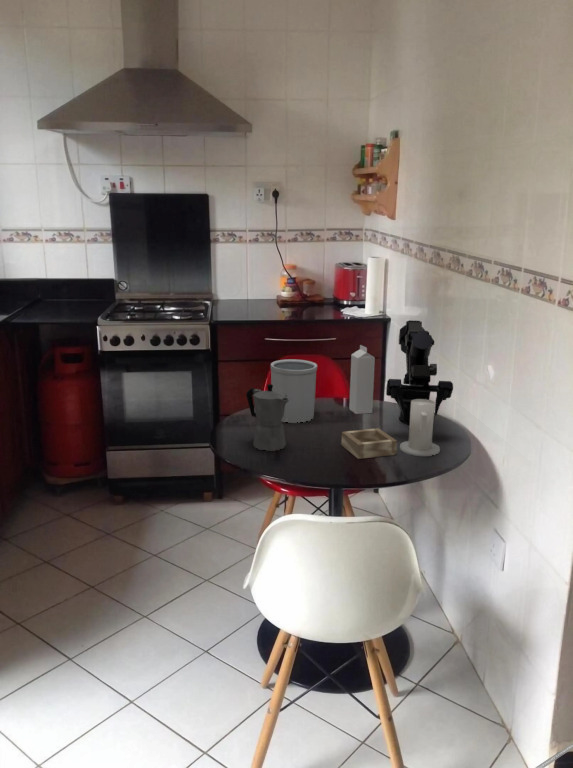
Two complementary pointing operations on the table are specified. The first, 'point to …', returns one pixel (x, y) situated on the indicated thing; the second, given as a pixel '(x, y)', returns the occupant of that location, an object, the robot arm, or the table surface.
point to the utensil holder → (295, 387)
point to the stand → (369, 443)
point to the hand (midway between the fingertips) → (419, 414)
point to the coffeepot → (268, 417)
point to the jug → (421, 424)
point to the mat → (433, 451)
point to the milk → (362, 381)
